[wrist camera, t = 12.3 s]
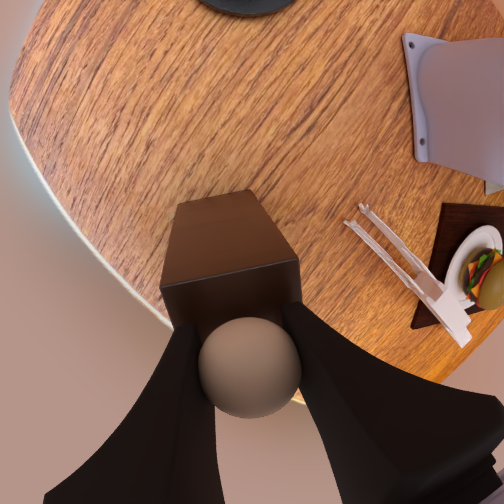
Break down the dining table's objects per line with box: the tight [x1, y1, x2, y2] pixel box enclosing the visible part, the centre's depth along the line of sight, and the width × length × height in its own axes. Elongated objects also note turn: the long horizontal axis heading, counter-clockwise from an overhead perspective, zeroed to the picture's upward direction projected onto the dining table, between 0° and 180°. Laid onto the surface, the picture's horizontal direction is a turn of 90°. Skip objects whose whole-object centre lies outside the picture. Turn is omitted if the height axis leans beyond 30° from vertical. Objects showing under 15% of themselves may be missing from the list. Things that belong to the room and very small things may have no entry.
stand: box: [159, 190, 303, 345], centre depth 14 cm, size 4×4×10 cm
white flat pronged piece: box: [343, 203, 472, 348], centre depth 20 cm, size 2×11×18 cm
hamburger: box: [411, 203, 504, 330], centre depth 22 cm, size 12×12×6 cm
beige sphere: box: [198, 317, 302, 419], centre depth 8 cm, size 3×3×3 cm
